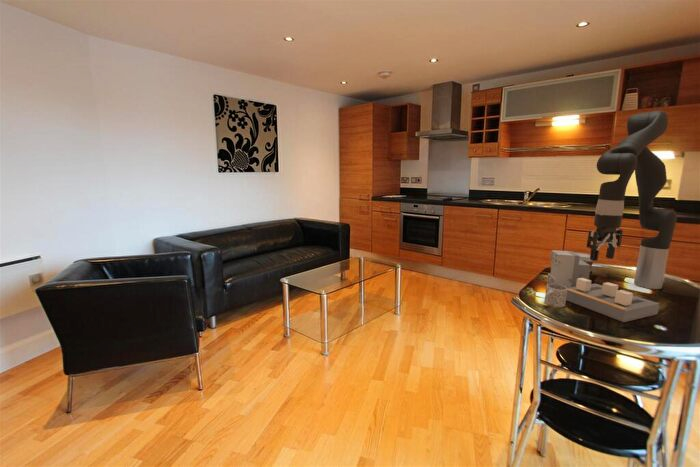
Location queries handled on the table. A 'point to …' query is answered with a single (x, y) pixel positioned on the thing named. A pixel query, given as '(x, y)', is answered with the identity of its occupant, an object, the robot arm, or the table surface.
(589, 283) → the handle
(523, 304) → the table surface
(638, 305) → the slider control panel
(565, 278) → the circuit breaker
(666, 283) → the table surface
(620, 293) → the handle
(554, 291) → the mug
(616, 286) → the handle
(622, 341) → the table surface
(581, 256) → the disposable coffee cup
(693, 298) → the table surface
